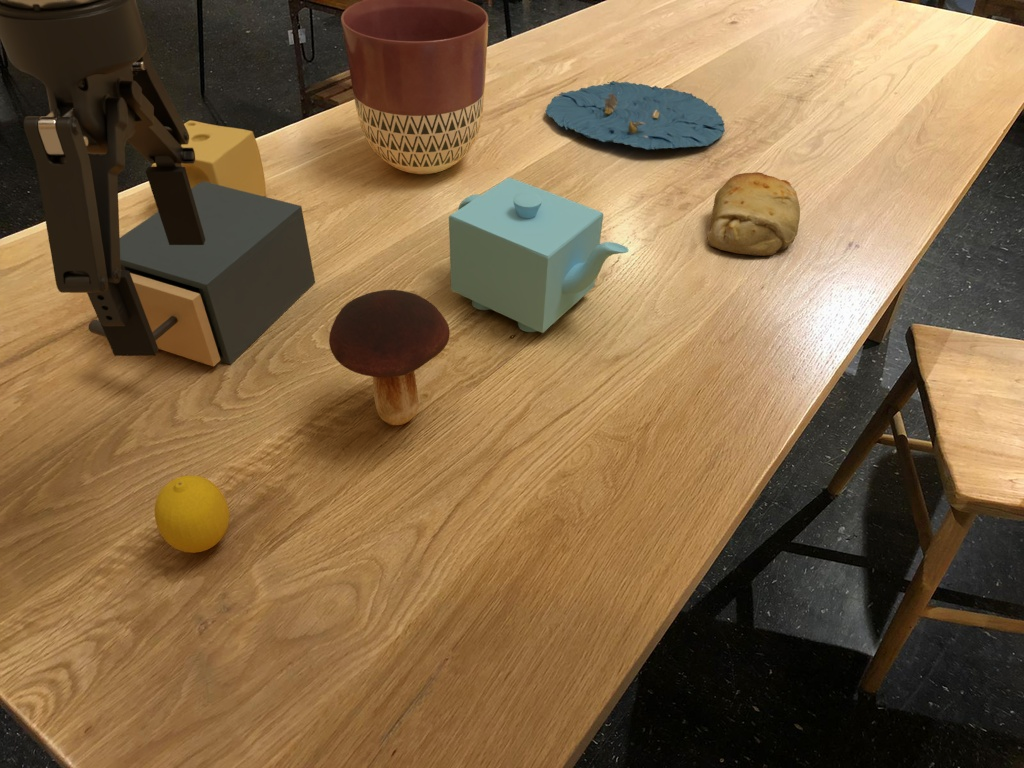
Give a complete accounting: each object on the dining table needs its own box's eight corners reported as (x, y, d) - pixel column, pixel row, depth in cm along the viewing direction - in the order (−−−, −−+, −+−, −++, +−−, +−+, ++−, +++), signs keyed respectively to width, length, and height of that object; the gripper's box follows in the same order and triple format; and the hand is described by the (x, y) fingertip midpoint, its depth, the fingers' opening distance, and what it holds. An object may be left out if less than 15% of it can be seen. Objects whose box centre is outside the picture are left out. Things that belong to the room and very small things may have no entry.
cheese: (162, 219, 103) (139, 149, 96) (208, 182, 111) (190, 115, 104) (230, 233, 101) (212, 163, 94) (272, 195, 109) (258, 127, 102)
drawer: (182, 396, 77) (157, 329, 71) (86, 363, 80) (54, 296, 74) (297, 287, 91) (284, 223, 85) (211, 263, 94) (193, 199, 88)
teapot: (433, 293, 93) (428, 191, 83) (488, 253, 99) (489, 153, 90) (588, 367, 84) (602, 261, 74) (637, 317, 90) (656, 214, 81)
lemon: (213, 578, 63) (188, 520, 58) (157, 559, 64) (126, 500, 59) (251, 527, 67) (230, 467, 62) (197, 509, 68) (172, 449, 63)
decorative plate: (545, 89, 141) (546, 60, 138) (707, 94, 141) (712, 65, 137) (544, 157, 119) (545, 124, 116) (737, 163, 119) (744, 131, 115)
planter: (407, 211, 106) (396, 53, 92) (334, 159, 117) (313, 10, 102) (513, 170, 116) (518, 21, 101) (436, 125, 126) (430, -16, 112)
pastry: (762, 202, 111) (777, 151, 105) (818, 247, 102) (837, 194, 97) (679, 220, 107) (690, 167, 101) (730, 268, 98) (745, 213, 93)
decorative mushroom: (376, 475, 72) (358, 354, 61) (324, 407, 78) (300, 287, 68) (473, 427, 77) (472, 307, 66) (417, 366, 83) (407, 249, 73)
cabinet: (230, 365, 82) (206, 284, 75) (129, 332, 86) (97, 252, 78) (315, 282, 94) (301, 205, 86) (223, 256, 97) (202, 180, 90)
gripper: (38, 75, 34) (170, 410, 49) (184, -70, 52) (248, 206, 67) (-139, 72, 33) (47, 411, 48) (70, -73, 52) (160, 206, 66)
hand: (164, 293), depth 57 cm, fingers open, 13 cm apart
